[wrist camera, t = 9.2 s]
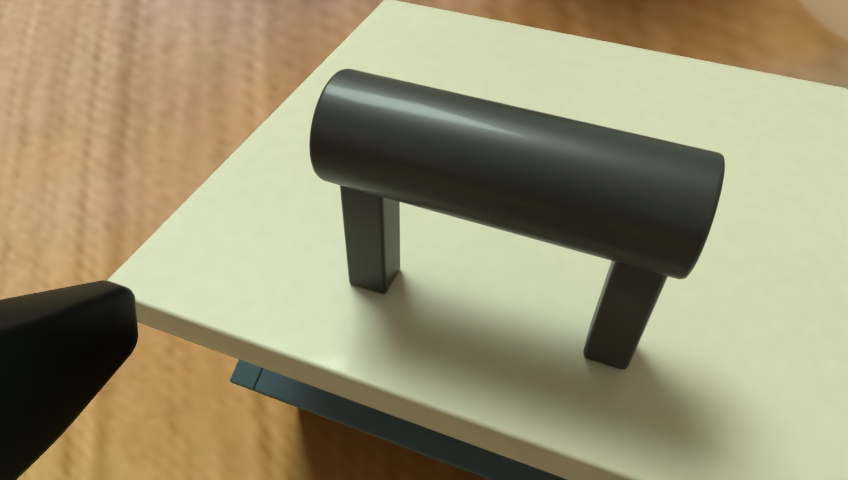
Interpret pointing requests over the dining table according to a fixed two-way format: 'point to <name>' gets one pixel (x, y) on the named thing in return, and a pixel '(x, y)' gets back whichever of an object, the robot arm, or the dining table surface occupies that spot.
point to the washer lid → (536, 250)
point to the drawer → (385, 426)
